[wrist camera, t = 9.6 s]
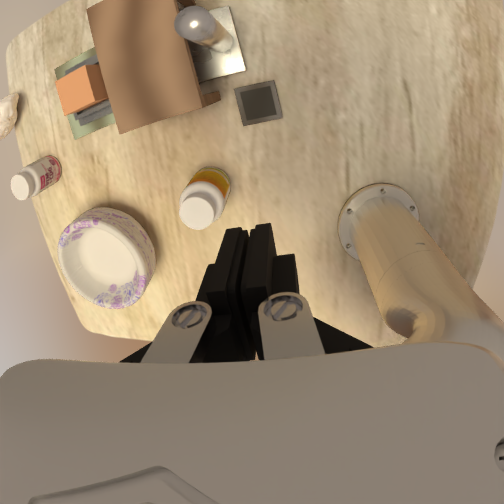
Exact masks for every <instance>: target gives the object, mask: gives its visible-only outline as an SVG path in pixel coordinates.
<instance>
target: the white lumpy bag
mask: <svg viewBox="0 0 504 504" xmlns="http://www.w3.org/2000/svg"><path fill="white" fill-rule="evenodd" d="M18 99H19V95H18V94H10V95H8V96H7V97H5V98H3V99H2V100H0V140H1V139H3V138H5V136H6V135H8V134H9V133H10V131H11V130H12V128H13V126H14V124H15V122H16V120H17V109H16V108H17V103H18Z"/></svg>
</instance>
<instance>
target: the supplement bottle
mask: <svg viewBox="0 0 504 504" xmlns="http://www.w3.org/2000/svg"><path fill="white" fill-rule="evenodd" d="M230 189H231V184H230V180H229V178H228V176H227V175H226V173H225V172H223V171H222V170H220V169H218V168H215V167H206V168H203V169H201V170H199V171H198V172H197V173H196V174H195V175H194V177H193V178H192V179H191V181H190V182H189V184H188V185H187V186H186V188H185V189H184V190H183V192H182V194H181V196H180V209H179V215H180V218H181V220H182V222H183V223H184V224H185V225H186V226H188V227H189V228H192V229H196V230H201V229H205V228H207V227H208V226H209V225H210V224H211V223H213V222H214V221H216V220H217V219H218V218H219V217H220V216H221V214H222V212H223V210H224V207H225V204H226V202H227V199H228V196H229V193H230Z"/></svg>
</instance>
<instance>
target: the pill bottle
mask: <svg viewBox="0 0 504 504" xmlns="http://www.w3.org/2000/svg"><path fill="white" fill-rule="evenodd" d="M60 176H61V167H60V164H59V162H58V160H57V159H56V158H55V157H53V156H45V157H43V158H41V159H39V160H37V161H35V162H33V163H31V164H29V165H28V166H26V167H24V168H23V169H22V170H21V171H20V172H19V173H18V174H16V175H14V177H13V178H12V180H11V189H12V192H13V194H14V196H15V197H16V198H17V199H19V200H25V199H27V198H29V197H33V196H36V195H37V194H39V193H40V192H42V191H43V190H45V189H46V188H48V187H49V186H51V185H53V184H54V183H56V182H57V181H58V180H59V178H60Z"/></svg>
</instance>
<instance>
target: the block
mask: <svg viewBox="0 0 504 504" xmlns="http://www.w3.org/2000/svg"><path fill="white" fill-rule="evenodd" d="M55 83H56V87H57V91H58V94H59V98H60V101H61V105H62V108H63V112H64V115H65V116H66V115H69V114H73V113H76V112H80V111H83V110H86V109H88V108H90V107H92V106H94V105H96V104H99V103H101V102H103V101H105V100H108V99H109V98H108V94H107V91H106V87H105V84H104V80H103V76H102V73H101V69H100V65H84V66H82V67H80V68H78V69H77V70H75V71H73V72H71V73H69V74H68V75H66V76H64V77H62V78H61V79H59V80H57V81H56V82H55Z"/></svg>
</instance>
